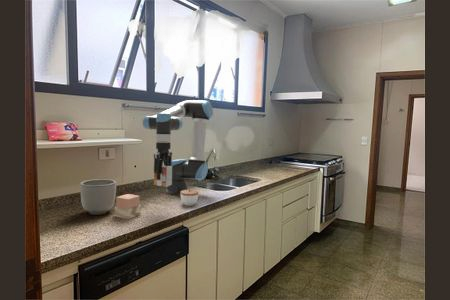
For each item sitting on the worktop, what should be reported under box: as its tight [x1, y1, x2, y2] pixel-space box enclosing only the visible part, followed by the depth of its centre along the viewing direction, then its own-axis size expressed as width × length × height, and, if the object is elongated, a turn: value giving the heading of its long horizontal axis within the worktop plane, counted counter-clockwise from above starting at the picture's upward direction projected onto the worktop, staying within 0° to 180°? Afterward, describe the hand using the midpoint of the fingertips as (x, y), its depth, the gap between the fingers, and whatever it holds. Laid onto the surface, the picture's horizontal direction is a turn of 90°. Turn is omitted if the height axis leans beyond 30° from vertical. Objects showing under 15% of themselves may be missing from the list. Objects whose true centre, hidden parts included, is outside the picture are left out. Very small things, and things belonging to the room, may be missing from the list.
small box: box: [153, 164, 172, 188], centre depth 152 cm, size 8×6×10 cm
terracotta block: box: [115, 193, 141, 209], centre depth 145 cm, size 8×8×5 cm
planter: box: [79, 178, 117, 216], centre depth 147 cm, size 17×17×16 cm
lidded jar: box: [180, 188, 199, 207], centre depth 169 cm, size 11×11×9 cm
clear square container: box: [114, 204, 142, 220], centre depth 145 cm, size 9×9×5 cm
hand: (162, 184), depth 153 cm, fingers closed on small box, 6 cm apart
